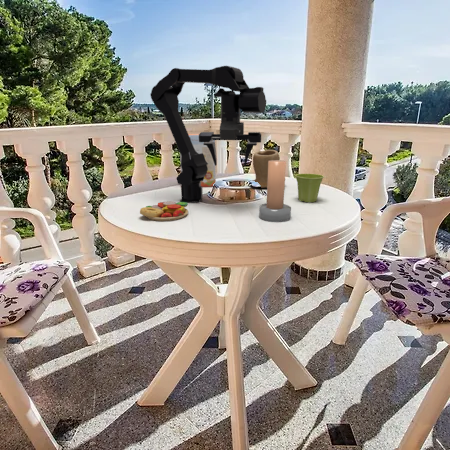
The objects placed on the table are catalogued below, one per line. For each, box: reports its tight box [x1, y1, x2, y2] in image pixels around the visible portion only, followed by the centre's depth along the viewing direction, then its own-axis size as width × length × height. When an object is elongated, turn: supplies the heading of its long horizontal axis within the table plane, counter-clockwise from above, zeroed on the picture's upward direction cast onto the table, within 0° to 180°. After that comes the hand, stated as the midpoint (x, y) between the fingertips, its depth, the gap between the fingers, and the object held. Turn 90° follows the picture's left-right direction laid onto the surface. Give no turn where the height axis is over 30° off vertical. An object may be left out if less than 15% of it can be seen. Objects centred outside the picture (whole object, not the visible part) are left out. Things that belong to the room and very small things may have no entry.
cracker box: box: [179, 133, 217, 188], centre depth 134 cm, size 14×6×21 cm, turn 98°
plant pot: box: [294, 173, 325, 203], centre depth 113 cm, size 9×9×9 cm
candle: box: [266, 160, 287, 209], centre depth 92 cm, size 5×5×13 cm
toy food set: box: [139, 200, 189, 222], centre depth 97 cm, size 13×13×3 cm
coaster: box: [258, 203, 292, 223], centre depth 95 cm, size 9×9×3 cm
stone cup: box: [252, 149, 280, 189], centre depth 132 cm, size 15×12×15 cm
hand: (230, 165), depth 103 cm, fingers open, 9 cm apart
